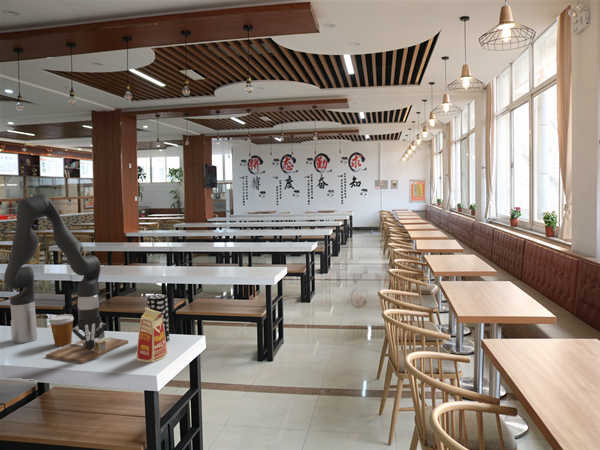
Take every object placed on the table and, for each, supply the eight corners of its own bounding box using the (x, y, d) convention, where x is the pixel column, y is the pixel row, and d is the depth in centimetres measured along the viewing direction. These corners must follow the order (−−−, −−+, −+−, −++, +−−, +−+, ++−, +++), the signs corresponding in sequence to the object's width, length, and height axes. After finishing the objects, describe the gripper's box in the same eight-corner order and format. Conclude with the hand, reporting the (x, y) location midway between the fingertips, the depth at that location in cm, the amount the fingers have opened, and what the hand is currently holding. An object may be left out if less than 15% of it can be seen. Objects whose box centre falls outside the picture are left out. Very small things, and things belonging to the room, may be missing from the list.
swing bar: (81, 344, 188) (80, 335, 187) (91, 341, 191) (90, 333, 190) (97, 352, 178) (96, 343, 177) (107, 349, 181) (106, 340, 180)
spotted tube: (163, 345, 192) (161, 299, 190) (145, 344, 193) (143, 298, 192) (172, 338, 200) (170, 294, 198) (155, 337, 201) (153, 294, 200)
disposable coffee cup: (76, 344, 195) (75, 317, 194) (52, 349, 190) (50, 321, 189) (73, 338, 203) (71, 312, 202) (49, 343, 197) (47, 316, 196)
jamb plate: (46, 357, 181) (45, 342, 180) (93, 338, 203) (92, 325, 202) (83, 363, 173) (82, 348, 173) (128, 342, 195) (127, 329, 195)
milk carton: (136, 360, 175) (133, 310, 173) (151, 352, 184) (148, 304, 182) (155, 363, 172) (152, 312, 170) (170, 354, 181) (167, 305, 179)
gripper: (71, 311, 171) (73, 355, 172) (108, 306, 178) (109, 348, 179) (68, 307, 177) (70, 349, 178) (104, 302, 184) (105, 343, 186)
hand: (90, 349), depth 179 cm, fingers closed
